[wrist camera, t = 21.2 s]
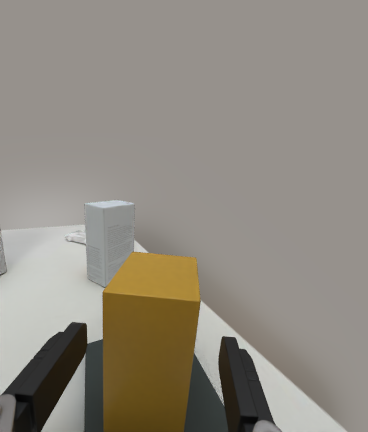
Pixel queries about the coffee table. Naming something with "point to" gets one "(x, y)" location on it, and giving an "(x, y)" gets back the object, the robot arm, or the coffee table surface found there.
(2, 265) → the rectangular carton
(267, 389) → the coffee table surface
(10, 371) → the coffee table surface
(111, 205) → the cosmetic box
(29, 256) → the coffee table surface
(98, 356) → the rubber mat
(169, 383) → the mustard block
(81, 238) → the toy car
